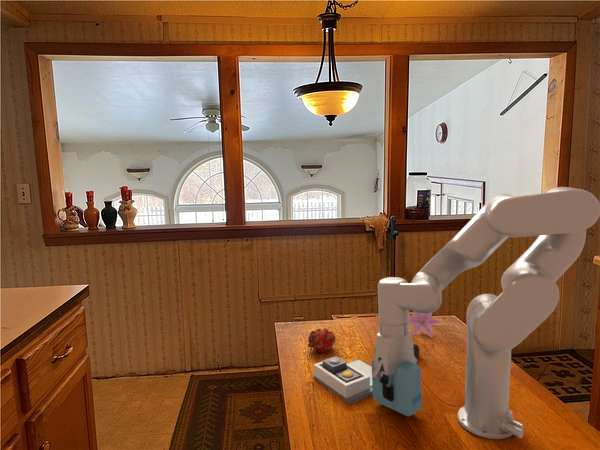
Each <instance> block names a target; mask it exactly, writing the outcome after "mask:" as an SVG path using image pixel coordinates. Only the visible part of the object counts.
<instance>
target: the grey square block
mask: <svg viewBox="0 0 600 450" xmlns="http://www.w3.org/2000/svg"><path fill="white" fill-rule="evenodd" d="M322 361H323V368H324V369H326V370H327V371H329V372H330V373H332V374H333V375H335V373H338V372H341V371H344V370H346V369H347V363H348V362H347V361H345V360H343V359H341V358H340V357H339V356H337V355H335V356H331V357H329V358H326V359H323V360H322Z"/></svg>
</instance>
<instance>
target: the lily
mask: <svg viewBox="0 0 600 450" xmlns="http://www.w3.org/2000/svg"><path fill="white" fill-rule="evenodd" d="M432 315H433V312H432V313H419V312H414V311H413V314H411V315H409V319H410V325H412V326H413V329H412V331H413V332H412V336H415V335H418V334H419V333H420V332H421V331H422V332H423V333H424V334H426V336H428V337H430V338H433V337H434V331H433V326H435V325H438V324H440V323H441V321H440V320H438V319H436V318H434V317H433V316H432Z"/></svg>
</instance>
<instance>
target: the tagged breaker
mask: <svg viewBox="0 0 600 450" xmlns="http://www.w3.org/2000/svg"><path fill="white" fill-rule="evenodd" d="M335 376H336V377H338V378H339V379H341V380H342V381H344V382H345V383H348V382H351V381H354V380H356V379H359V378H360V375H358V374H357V373H355V372H354V371H352V370H350V369H346V370H344V371H341V372H338V373H335Z"/></svg>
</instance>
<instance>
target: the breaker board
mask: <svg viewBox="0 0 600 450" xmlns="http://www.w3.org/2000/svg"><path fill="white" fill-rule="evenodd" d="M347 369H350V370H352V371H354V372H355V373H357V374H358V375H360V378H359V379H356V380H354V381H351V382H348V383H345V382H344V381H342V380H341V379H339V378H338V377H336V376H335V375H333V374H332V373H330V372H329V371H327V370H326V369H324V368H323V360H322V361H320V362H317V363H314V364H313V375H312V378H313V380H315V381H316V382H318V383H319V384H321V385H322V386H324V387H325V388H326V389H327V390H329V391H330V392H331V393H333V394H335V395H336V396H337V397H339V398H340V399H341V400H343V401H344V402H345V403H347V404H349V405H351V404H354V403H357V402H359V401H361V400H363V399H366V398H369V397H370V396H373V389H372V365H369V364H367V363H366V362H363V360H360V359H358V358H357V359H355V360H352V361H348V362H347Z"/></svg>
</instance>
